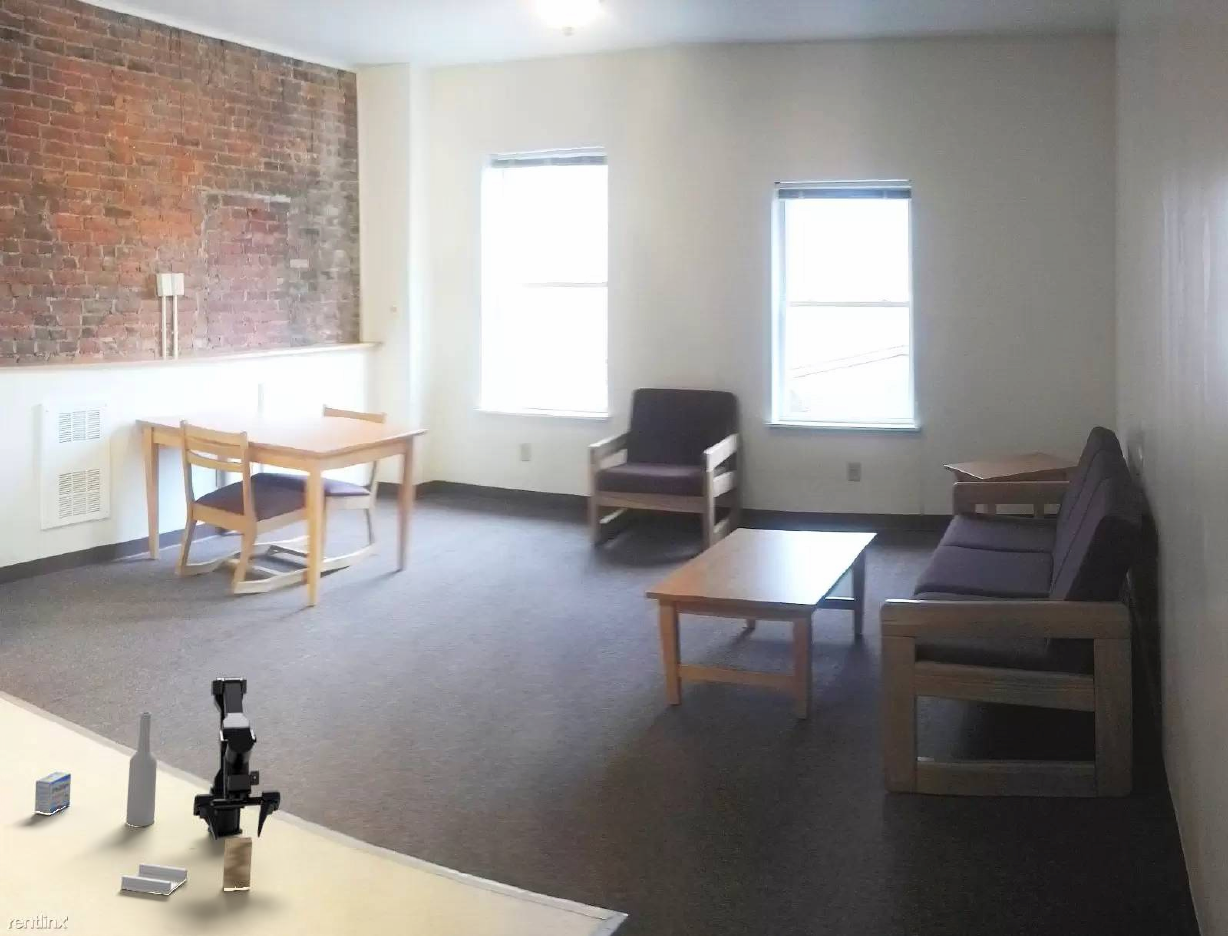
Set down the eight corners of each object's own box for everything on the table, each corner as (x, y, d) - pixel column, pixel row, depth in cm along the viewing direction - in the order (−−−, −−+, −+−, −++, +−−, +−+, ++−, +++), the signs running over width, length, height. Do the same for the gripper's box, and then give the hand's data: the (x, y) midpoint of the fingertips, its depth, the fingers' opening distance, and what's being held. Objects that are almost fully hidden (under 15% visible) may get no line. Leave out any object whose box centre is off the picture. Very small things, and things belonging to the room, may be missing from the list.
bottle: (159, 819, 300) (164, 710, 299) (146, 828, 294) (151, 718, 292) (134, 816, 301) (139, 708, 299) (120, 825, 295) (126, 715, 293)
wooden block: (223, 892, 262) (226, 844, 261) (222, 886, 265) (225, 838, 264) (249, 890, 264) (252, 842, 263) (248, 884, 267) (251, 837, 266)
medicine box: (49, 816, 297) (51, 782, 296) (33, 814, 298) (35, 780, 297) (70, 806, 305) (71, 773, 304) (54, 803, 305) (56, 770, 305)
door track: (120, 889, 260) (121, 877, 259) (141, 874, 268) (142, 862, 268) (167, 896, 258) (168, 883, 258) (186, 880, 266) (187, 868, 266)
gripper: (196, 760, 267) (196, 825, 257) (281, 756, 274) (284, 819, 264) (193, 782, 275) (192, 847, 265) (276, 778, 282) (278, 841, 272)
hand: (237, 838), depth 267 cm, fingers open, 9 cm apart
